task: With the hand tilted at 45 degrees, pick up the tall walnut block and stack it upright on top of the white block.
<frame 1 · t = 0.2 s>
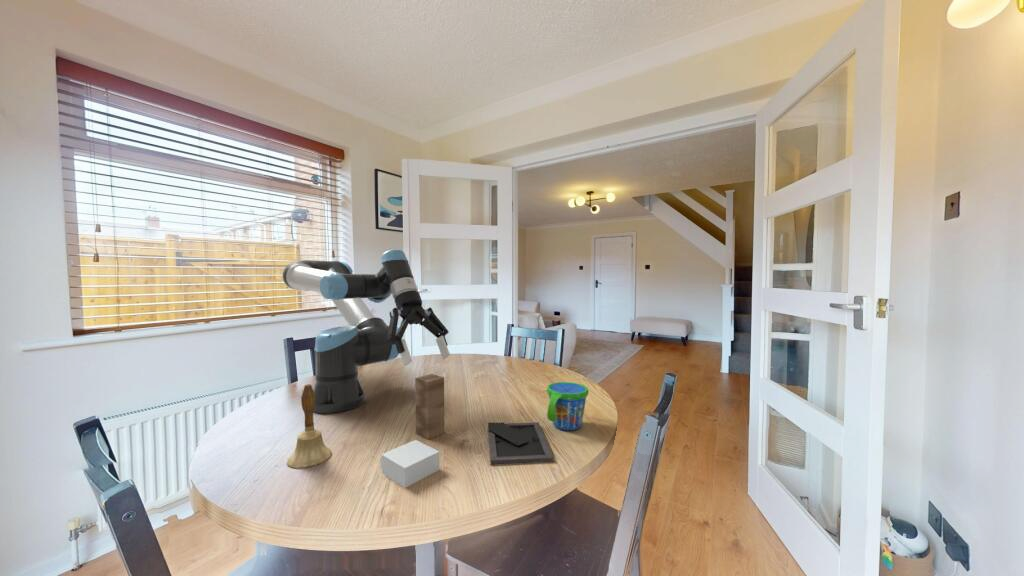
hand: (428, 360, 98), 16 cm above the table, tool tilted 35°, fingers open, 13 cm apart
white block: (410, 472, 70), on the table
walnut block: (430, 433, 87), on the table
snack cup: (567, 426, 91), on the table
picture frame: (517, 446, 81), on the table
hand bell: (309, 459, 75), on the table
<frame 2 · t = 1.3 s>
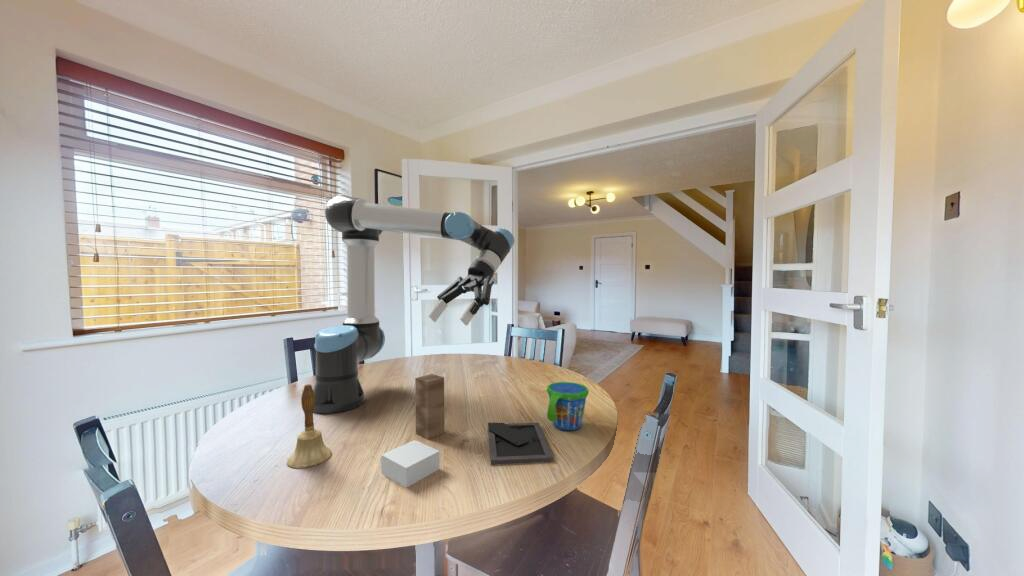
hand: (447, 320, 97), 27 cm above the table, tool tilted 45°, fingers open, 13 cm apart
nothing on the table moved.
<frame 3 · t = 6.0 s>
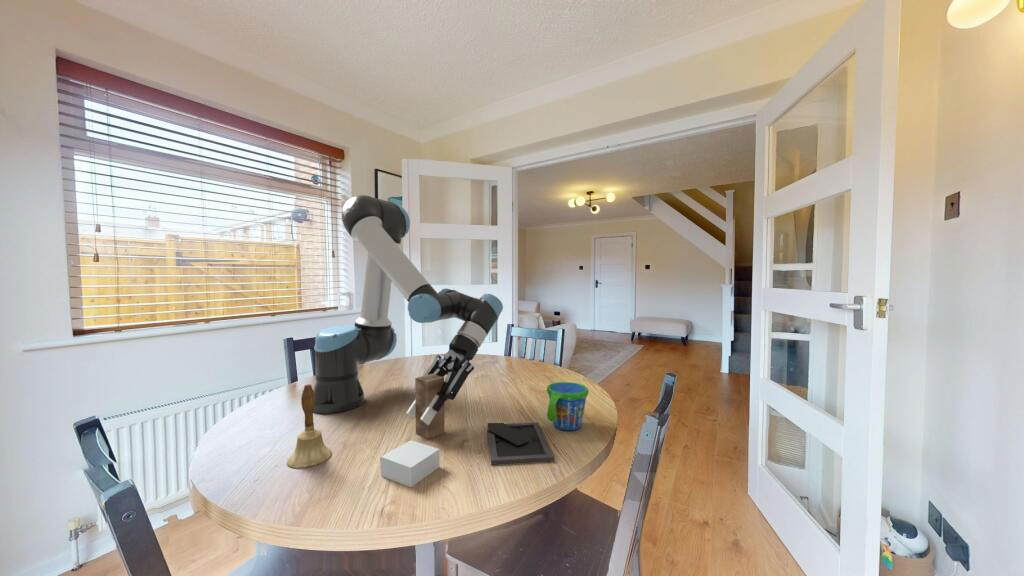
hand: (417, 418, 84), 5 cm above the table, tool tilted 45°, fingers closed on walnut block, 5 cm apart
walnut block: (430, 433, 87), on the table, touching gripper
everything else where it was.
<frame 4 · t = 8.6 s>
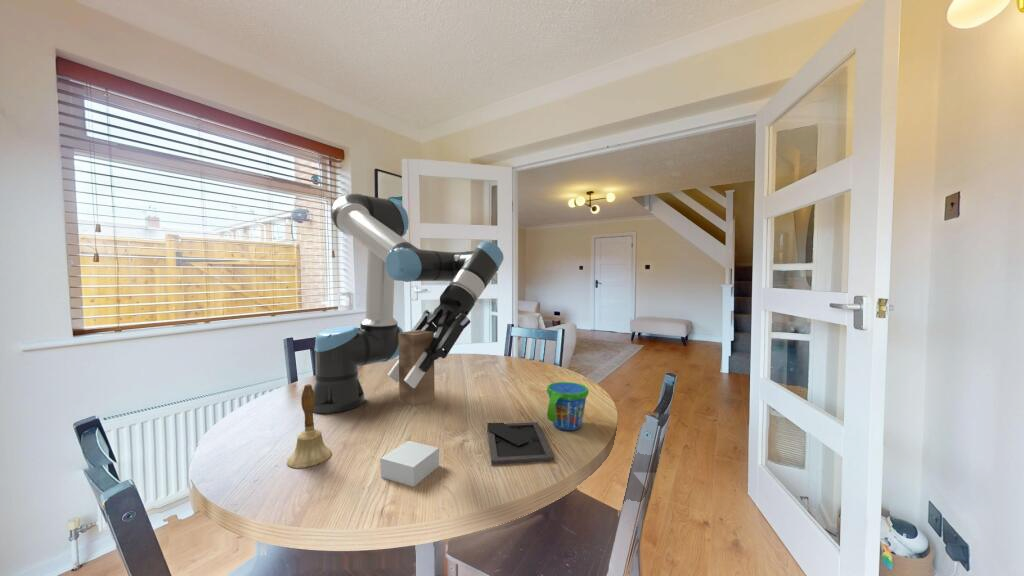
hand: (400, 381, 68), 19 cm above the table, tool tilted 45°, fingers closed on walnut block, 5 cm apart
walnut block: (417, 400, 71), point 14 cm above the table, touching gripper
everything else where it was.
when the fingers open (10 cm above the table, at t = 11.0 s): walnut block drops 1 cm, resting on white block.
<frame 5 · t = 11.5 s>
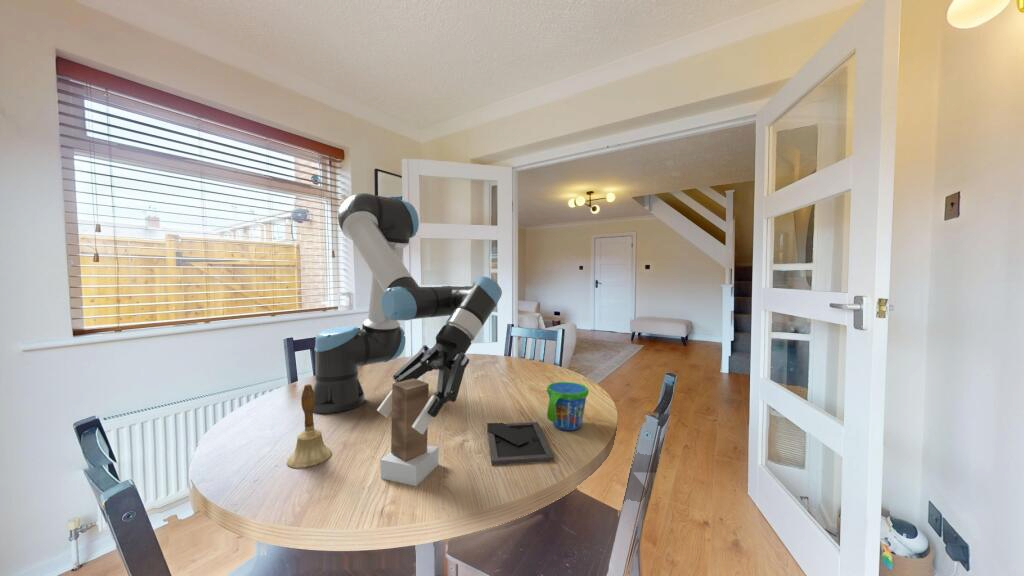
hand: (398, 421, 67), 11 cm above the table, tool tilted 45°, fingers open, 11 cm apart
white block: (410, 472, 70), on the table, touching walnut block
walnut block: (409, 452, 70), point 4 cm above the table, touching white block
everything else where it was.
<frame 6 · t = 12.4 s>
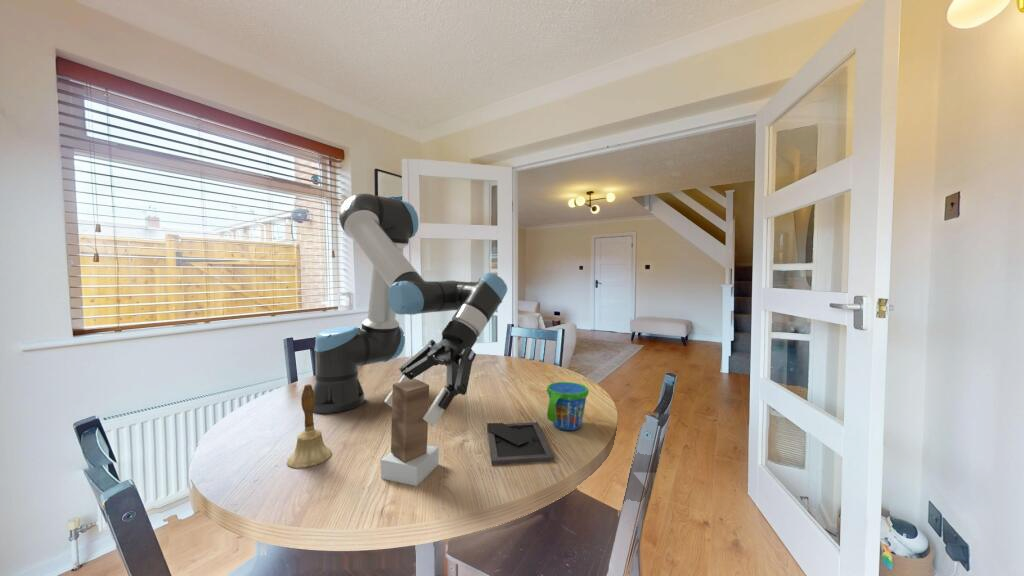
hand: (407, 413, 68), 12 cm above the table, tool tilted 45°, fingers open, 13 cm apart
white block: (410, 472, 70), on the table
walnut block: (408, 452, 69), point 4 cm above the table
everything else where it was.
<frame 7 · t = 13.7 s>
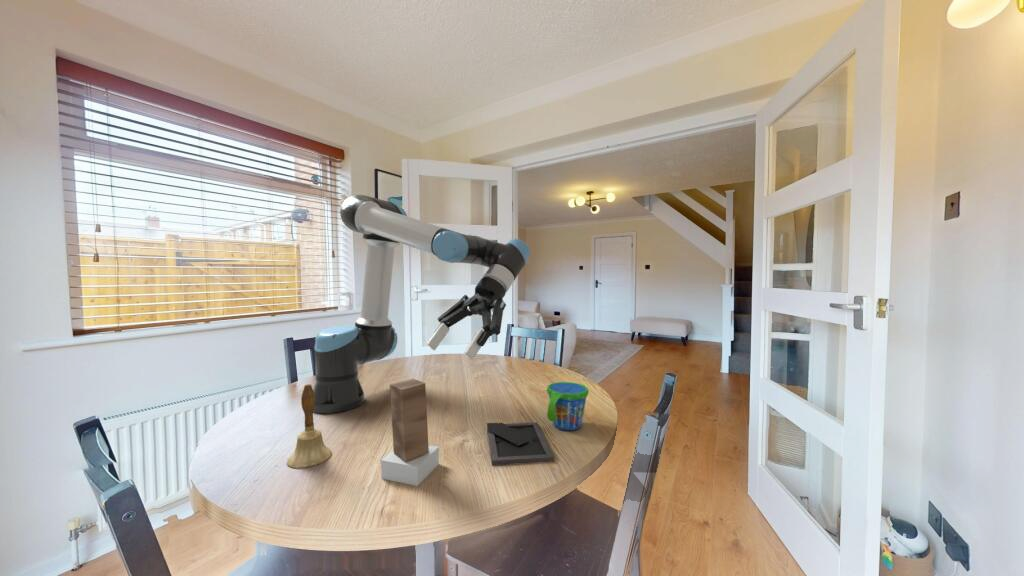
hand: (448, 351, 80), 22 cm above the table, tool tilted 45°, fingers open, 13 cm apart
white block: (411, 472, 70), on the table, touching walnut block
walnut block: (411, 452, 69), point 4 cm above the table, touching white block
everything else where it was.
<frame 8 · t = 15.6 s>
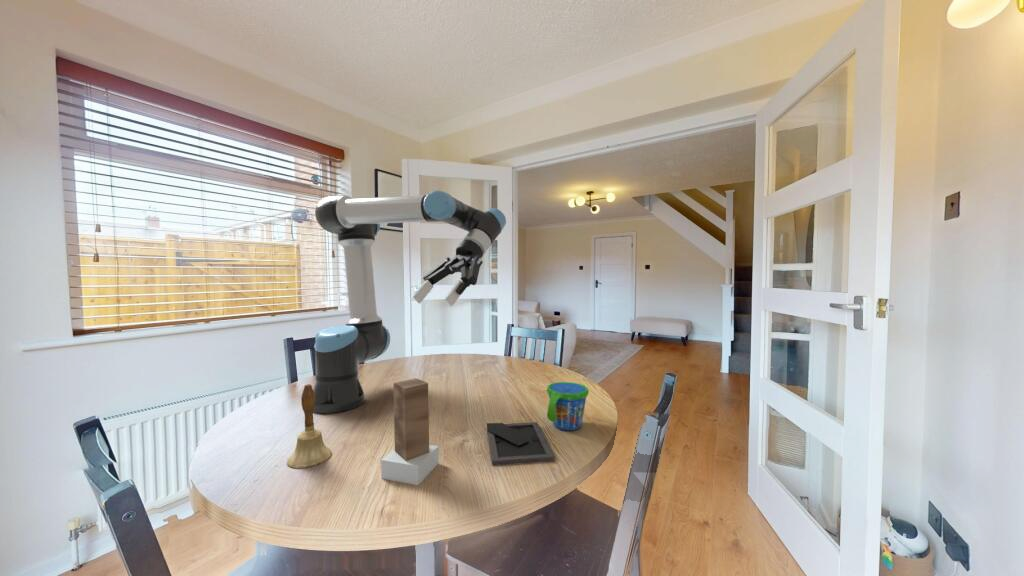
hand: (431, 301, 91), 33 cm above the table, tool tilted 45°, fingers open, 13 cm apart
at the end: walnut block inside the target area on the white block (0.4 cm from its centre), point 4.2 cm above the white block's base; walnut block tilted 3°; the gripper is holding nothing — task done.
